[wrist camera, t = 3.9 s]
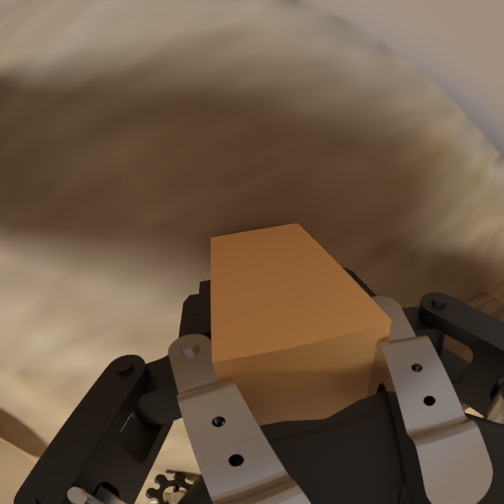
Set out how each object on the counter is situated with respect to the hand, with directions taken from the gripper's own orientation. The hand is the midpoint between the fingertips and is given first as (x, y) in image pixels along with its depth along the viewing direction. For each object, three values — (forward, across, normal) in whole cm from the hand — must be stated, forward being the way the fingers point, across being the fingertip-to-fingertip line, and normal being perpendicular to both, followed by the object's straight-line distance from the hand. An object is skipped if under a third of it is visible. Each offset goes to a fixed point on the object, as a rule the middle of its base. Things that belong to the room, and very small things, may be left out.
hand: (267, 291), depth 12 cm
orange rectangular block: (+2, 0, 0) cm, 2 cm away
